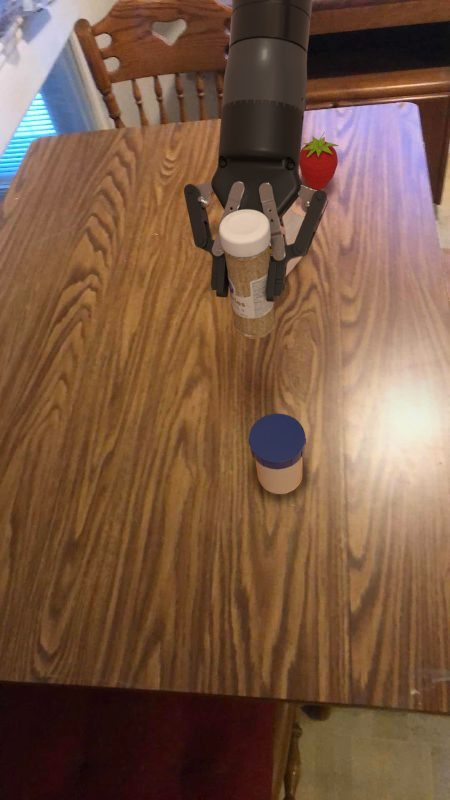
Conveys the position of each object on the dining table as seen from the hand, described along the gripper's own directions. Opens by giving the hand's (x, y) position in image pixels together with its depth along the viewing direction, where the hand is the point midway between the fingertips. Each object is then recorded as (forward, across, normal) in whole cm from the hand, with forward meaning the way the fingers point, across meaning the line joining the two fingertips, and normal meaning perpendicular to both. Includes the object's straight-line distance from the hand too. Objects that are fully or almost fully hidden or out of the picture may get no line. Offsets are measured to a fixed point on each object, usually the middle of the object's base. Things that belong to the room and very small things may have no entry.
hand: (246, 298), depth 55 cm
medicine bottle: (-4, -3, +30) cm, 31 cm away
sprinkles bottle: (+3, 0, +6) cm, 7 cm away
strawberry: (-17, +1, +43) cm, 46 cm away
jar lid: (+13, +4, 0) cm, 14 cm away
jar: (+20, +4, +6) cm, 21 cm away
